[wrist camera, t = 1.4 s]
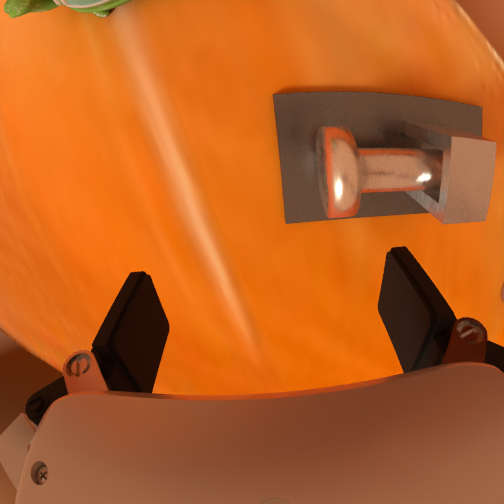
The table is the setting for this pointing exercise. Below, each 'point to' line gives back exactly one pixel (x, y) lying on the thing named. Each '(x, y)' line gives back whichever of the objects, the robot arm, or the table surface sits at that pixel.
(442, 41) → the table surface
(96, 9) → the turtle holder
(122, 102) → the table surface
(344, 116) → the bearing housing
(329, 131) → the door knob
